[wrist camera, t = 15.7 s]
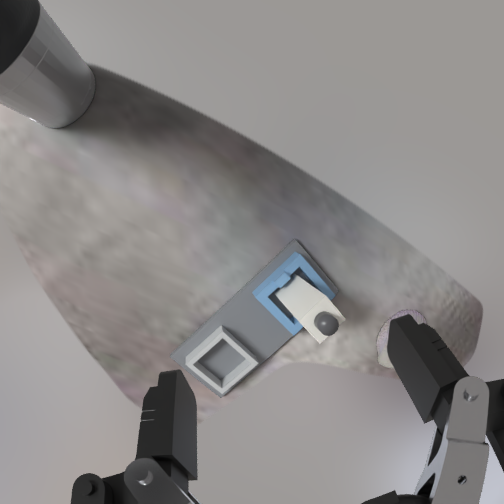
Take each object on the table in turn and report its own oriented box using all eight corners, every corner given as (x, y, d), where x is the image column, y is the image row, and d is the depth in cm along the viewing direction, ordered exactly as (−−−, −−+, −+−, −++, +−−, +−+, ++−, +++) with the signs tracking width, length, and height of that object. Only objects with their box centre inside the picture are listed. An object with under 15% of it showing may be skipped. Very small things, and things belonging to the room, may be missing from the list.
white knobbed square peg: (290, 310, 38) (326, 350, 27) (273, 292, 38) (304, 327, 26) (310, 292, 39) (353, 325, 27) (293, 272, 38) (333, 300, 27)
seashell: (371, 346, 39) (431, 308, 38) (360, 328, 45) (415, 294, 43) (392, 391, 41) (446, 357, 40) (382, 372, 47) (431, 341, 45)
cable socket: (220, 394, 40) (222, 409, 36) (170, 353, 38) (168, 367, 34) (336, 289, 40) (348, 296, 37) (293, 238, 38) (303, 242, 35)
